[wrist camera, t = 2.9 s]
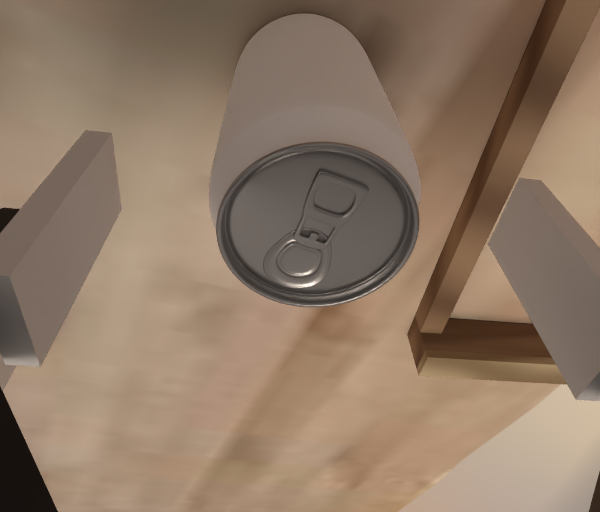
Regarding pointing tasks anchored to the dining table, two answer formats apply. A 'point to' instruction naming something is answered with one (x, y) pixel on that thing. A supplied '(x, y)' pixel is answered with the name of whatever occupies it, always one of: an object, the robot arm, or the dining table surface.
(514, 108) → the guide
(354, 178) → the can
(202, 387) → the dining table surface
